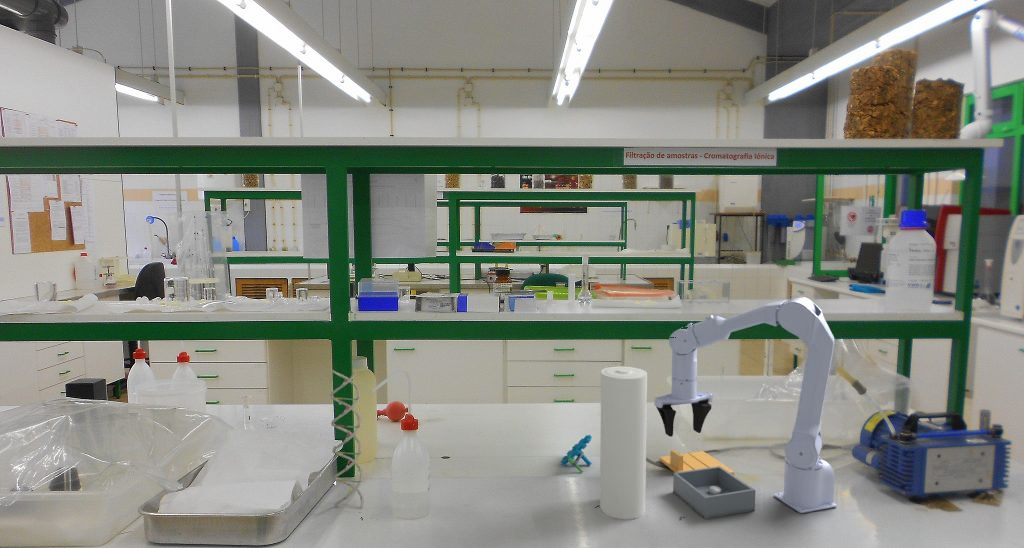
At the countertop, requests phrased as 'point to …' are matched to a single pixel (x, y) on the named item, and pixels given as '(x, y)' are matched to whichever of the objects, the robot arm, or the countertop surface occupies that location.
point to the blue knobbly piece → (577, 453)
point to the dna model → (355, 488)
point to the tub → (713, 492)
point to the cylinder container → (623, 442)
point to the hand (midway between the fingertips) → (683, 433)
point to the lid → (691, 461)
